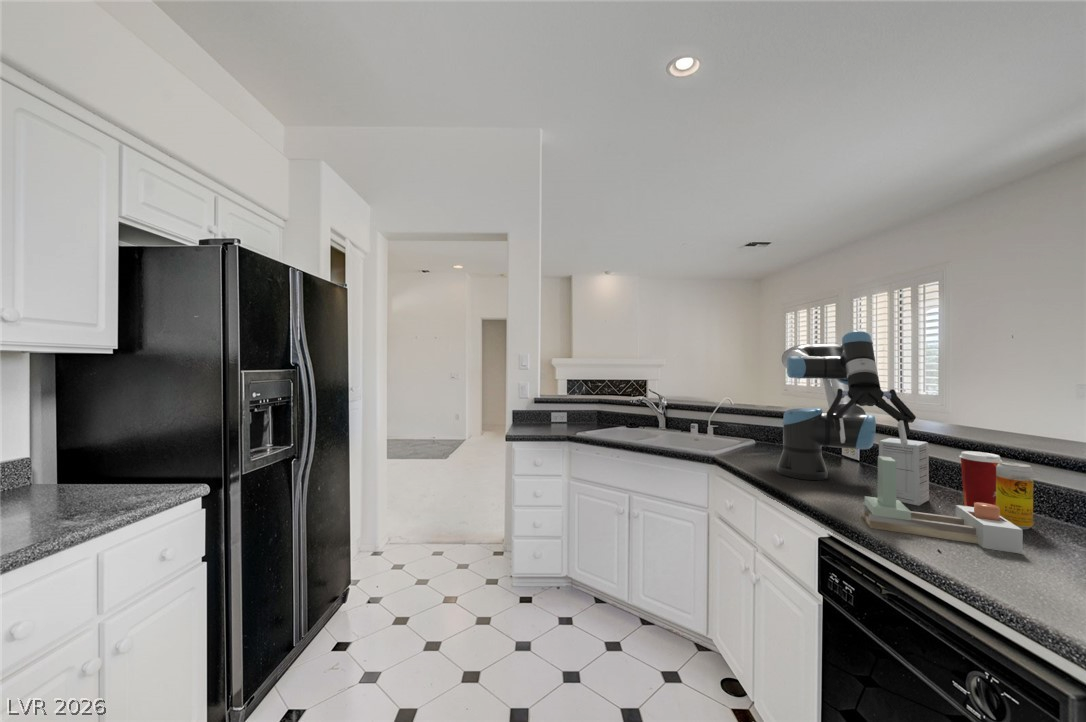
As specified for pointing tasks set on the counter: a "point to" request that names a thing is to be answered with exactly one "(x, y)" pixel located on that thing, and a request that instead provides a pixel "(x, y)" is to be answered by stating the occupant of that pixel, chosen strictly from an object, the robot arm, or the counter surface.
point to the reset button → (986, 511)
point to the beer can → (1015, 493)
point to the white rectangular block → (993, 531)
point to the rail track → (924, 525)
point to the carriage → (887, 493)
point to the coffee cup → (979, 477)
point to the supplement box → (909, 469)
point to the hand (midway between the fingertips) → (873, 443)
